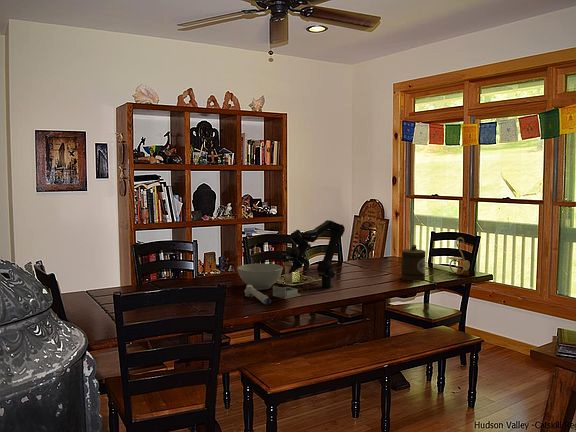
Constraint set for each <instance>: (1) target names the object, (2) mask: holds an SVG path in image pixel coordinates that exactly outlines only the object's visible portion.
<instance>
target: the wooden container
mask: <svg viewBox="0 0 576 432" xmlns="http://www.w3.org/2000/svg"><path fill="white" fill-rule="evenodd" d="M410 247H411V248H408V249H407V248H406V249H402V252H401V279H402V280H404V279H407V280H406V281H409V280H421V281H423V280H422V279H424V280H426V255H427V254H426V250H424V249H417V245H416V244H412V245H410Z"/></svg>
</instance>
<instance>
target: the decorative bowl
mask: <svg viewBox="0 0 576 432" xmlns="http://www.w3.org/2000/svg"><path fill="white" fill-rule="evenodd" d="M283 270H284V267H283V266H282V265H280V264H274V263H249V264H242V265H239V266H237V273H238V275H239V277H240V279H241V280H242V282H244V284H245V285H246V286H247V285H252V286H253V288H254V289H256V290H257V291H262V290H269V289H270V288H272V286H274V284H275V283H276V282H277V281H278V280H279V279H280V278H281V275H282V273H283Z"/></svg>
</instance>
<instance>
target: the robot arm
mask: <svg viewBox="0 0 576 432" xmlns="http://www.w3.org/2000/svg"><path fill="white" fill-rule="evenodd" d="M327 230H329V235H330V237H329V241H328V244H327V247H326V250H325V253H324V256H323V259H322V260H319V261H318V264H317V266H316V271H317V275H318V277H321V285H320V286H319V288H322V289H331V288H333V287H334V285H332V279H333V278H335V276H336V273H335V271H333V264H332V263H333V257H334V255H335V252H336V249H337V246H338V242H339V239H341V238H342V237H343V235H344V233H345V232H346V229H345V226H344V224H340V223H338V222H335V221H333V220H330V219H329V220H328V219H327V220H325V221H324V222H323V223H321V224H319V225H318V226H316V227H315V228H313V229H309V230H306V231H304V232H303V233H302V232H301V230H300V229H296V230H294V231H292V233H290V234H289V238H290V239H291V241H292V242H293V243H294V244H295V246H294V247H292V246H286V248H285V251H284V252H285V253H280V255H279V258H280V260H282V262H283V263H284V264H285V262H292V267H291V269H290V271H289V273H292V274H293V272H295V271H297V270H299V269H301V268H303V267H306V268H308V267H309V265H310V260H308V259H307V257H306V252H307V251H308V250H311V249H312V245H311V243H314V242H315V241H317V240H318V238H319V236H320V235H322V234H323V233H325V232H327ZM286 253H287V254H286ZM283 273H285V265H284V267H283Z"/></svg>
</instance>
